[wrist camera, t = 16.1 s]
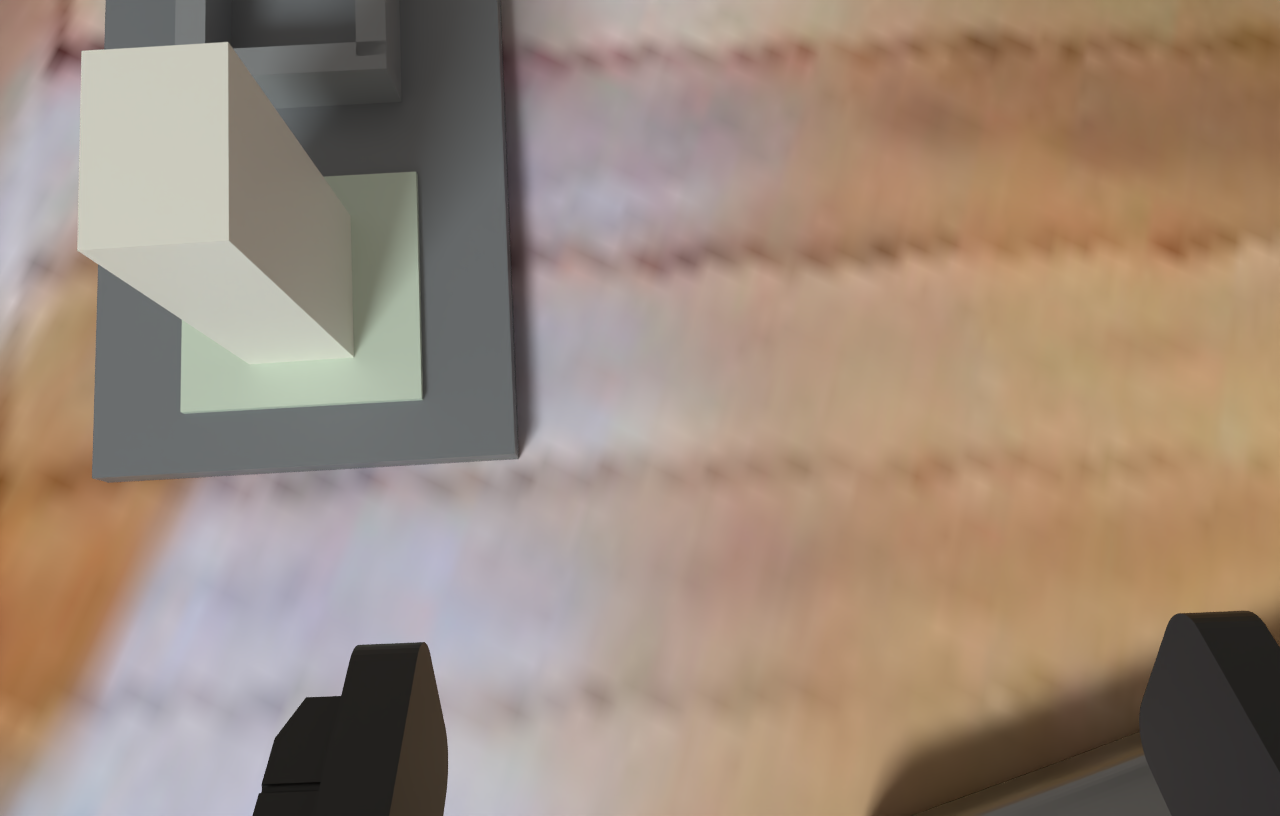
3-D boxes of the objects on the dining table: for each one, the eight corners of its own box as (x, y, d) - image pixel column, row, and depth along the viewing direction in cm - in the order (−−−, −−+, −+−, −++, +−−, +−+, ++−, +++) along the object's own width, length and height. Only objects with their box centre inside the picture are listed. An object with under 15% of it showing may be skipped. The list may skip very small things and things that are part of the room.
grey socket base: (493, -165, 44) (476, -262, 39) (518, 458, 39) (502, 436, 35) (124, -146, 44) (61, -242, 39) (108, 482, 39) (34, 463, 34)
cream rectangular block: (350, 215, 39) (228, 41, 28) (354, 357, 38) (228, 240, 27) (248, 222, 39) (81, 50, 28) (249, 364, 38) (77, 250, 27)
